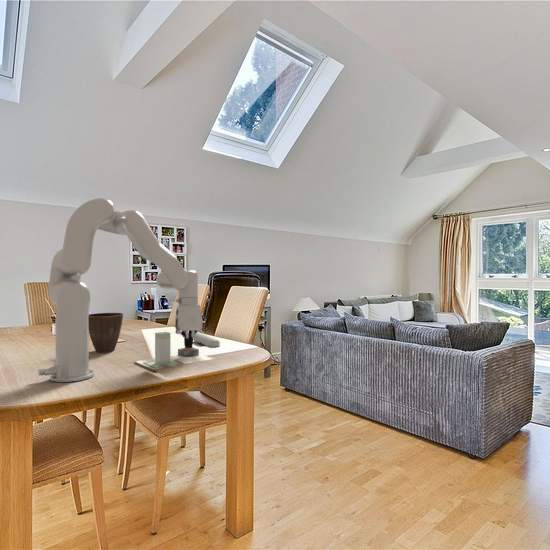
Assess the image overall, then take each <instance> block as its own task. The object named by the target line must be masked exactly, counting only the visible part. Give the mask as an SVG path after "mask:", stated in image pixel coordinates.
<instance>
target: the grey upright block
mask: <svg viewBox="0 0 550 550" xmlns="http://www.w3.org/2000/svg"><path fill="white" fill-rule="evenodd" d="M170 356H171V332H168V331H160V332H155V333H154V358H155V363H156V364H158V365H164V364H170V363H171V360H170Z"/></svg>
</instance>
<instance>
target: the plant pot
mask: <svg viewBox="0 0 550 550" xmlns="http://www.w3.org/2000/svg"><path fill="white" fill-rule="evenodd" d="M123 319H124V313H122V312H99V313H98V312H97V313H91V314H90V313H89V319H88V328H89V338H90V340H91V343H92V346H93V349H94V351H95V352H96V353H99V354H100V353H101V354H103V353H105V354H106V353H111V352H114V351H115V349H116V346H117V344H118V340H119V338H120V334H121V332H122V331H121V329H122V325H123Z"/></svg>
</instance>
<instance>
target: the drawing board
mask: <svg viewBox="0 0 550 550" xmlns="http://www.w3.org/2000/svg"><path fill="white" fill-rule="evenodd" d="M170 360H171V363H170V364H164V365H158V364H156V363H155V357H154V358H148V359H143V360H136V361H133V364H134V366H137V367H139V368H141V369H144V370H146V371H148V372H150V373H152V374H154V373H156V374H157V373H158V371H157V370H158V369H162V368H163V369H164V368H170V367H177V366H180V365H181V366H182V365H188V364H194V363H200V362H205V361H211V360H215V358H214V357H211V356H207V355H204V354H200V350H199V348H196V347H193V346H192V350H184V347H182V348H177V354H176V355H175V354H174V355H170Z"/></svg>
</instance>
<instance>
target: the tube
mask: <svg viewBox="0 0 550 550" xmlns="http://www.w3.org/2000/svg"><path fill="white" fill-rule="evenodd" d="M193 340H194V341H196V342H195V343H197V342H198V344H200V343H201V344H200V345H202V344H203V346H204V345H205V347H209V348H219V347H220V345H221V343H220V340H219V339H217V338H214V337H213V336H210V335H207V334H204V333H201V331H200V332H197V333H196V334H195V335H194V337H193ZM194 341H193V342H194Z"/></svg>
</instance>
